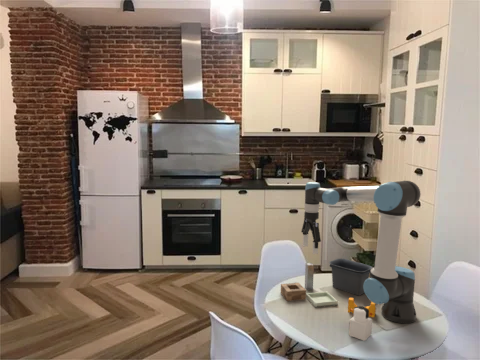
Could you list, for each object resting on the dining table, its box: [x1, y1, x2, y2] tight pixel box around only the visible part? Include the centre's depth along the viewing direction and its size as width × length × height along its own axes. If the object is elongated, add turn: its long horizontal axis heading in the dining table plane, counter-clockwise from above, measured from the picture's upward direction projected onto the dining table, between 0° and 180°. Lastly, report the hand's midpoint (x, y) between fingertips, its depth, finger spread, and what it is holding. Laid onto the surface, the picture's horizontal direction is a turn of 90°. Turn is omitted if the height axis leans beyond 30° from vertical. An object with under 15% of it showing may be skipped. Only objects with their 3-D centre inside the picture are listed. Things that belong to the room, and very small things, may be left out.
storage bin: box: [328, 257, 373, 296], centre depth 215 cm, size 21×16×14 cm
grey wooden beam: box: [304, 262, 315, 291], centre depth 214 cm, size 3×3×14 cm
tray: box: [306, 290, 339, 308], centre depth 200 cm, size 12×12×2 cm
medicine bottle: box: [348, 305, 373, 342], centre depth 166 cm, size 7×7×12 cm
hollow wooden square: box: [280, 282, 307, 302], centre depth 205 cm, size 10×10×5 cm
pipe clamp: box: [347, 297, 377, 318], centre depth 187 cm, size 12×4×6 cm, turn 64°
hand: (310, 250), depth 213 cm, fingers open, 13 cm apart
